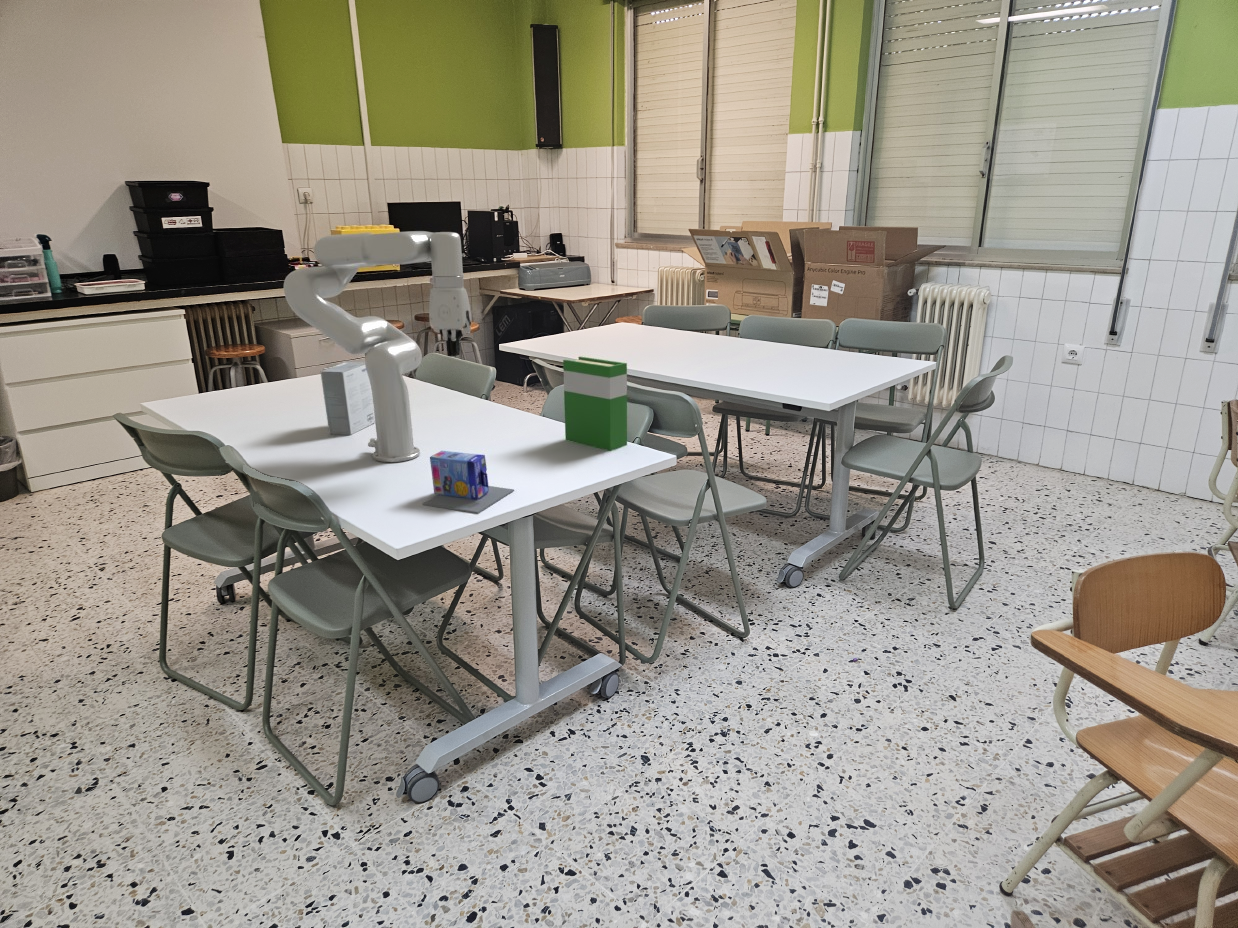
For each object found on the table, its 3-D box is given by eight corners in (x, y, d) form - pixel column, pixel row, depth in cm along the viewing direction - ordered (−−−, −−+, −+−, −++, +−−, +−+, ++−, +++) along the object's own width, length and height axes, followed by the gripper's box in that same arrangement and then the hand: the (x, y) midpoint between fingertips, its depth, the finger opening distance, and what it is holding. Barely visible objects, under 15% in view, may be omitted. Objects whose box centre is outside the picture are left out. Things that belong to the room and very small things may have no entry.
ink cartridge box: (428, 457, 177) (483, 462, 172) (440, 449, 182) (494, 454, 177) (433, 495, 181) (487, 502, 176) (445, 487, 186) (498, 492, 181)
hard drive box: (354, 421, 248) (347, 361, 242) (376, 422, 247) (369, 362, 241) (327, 434, 234) (319, 370, 228) (350, 435, 232) (342, 371, 226)
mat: (422, 504, 175) (422, 503, 175) (461, 483, 189) (461, 481, 189) (478, 513, 170) (478, 512, 170) (514, 491, 184) (514, 489, 184)
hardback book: (565, 440, 226) (563, 360, 219) (582, 434, 231) (580, 356, 224) (610, 450, 215) (609, 367, 208) (627, 445, 221) (626, 363, 213)
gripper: (414, 283, 191) (421, 356, 197) (465, 285, 186) (470, 359, 191) (432, 281, 198) (438, 351, 203) (481, 282, 192) (486, 355, 198)
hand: (453, 355), depth 197 cm, fingers closed
